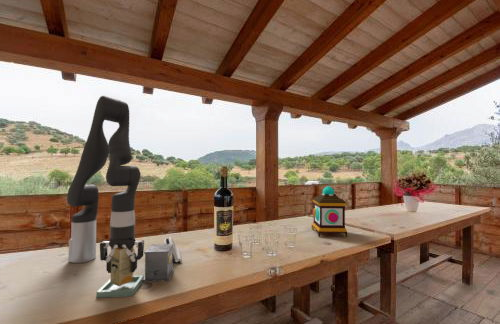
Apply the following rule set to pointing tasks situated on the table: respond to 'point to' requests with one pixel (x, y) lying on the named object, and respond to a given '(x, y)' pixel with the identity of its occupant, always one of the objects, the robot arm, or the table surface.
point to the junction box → (158, 262)
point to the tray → (120, 288)
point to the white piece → (174, 250)
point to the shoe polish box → (121, 267)
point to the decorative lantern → (329, 213)
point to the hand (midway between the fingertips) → (121, 271)
